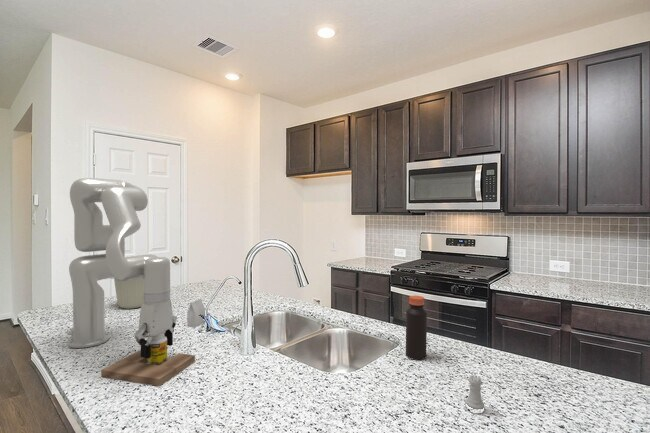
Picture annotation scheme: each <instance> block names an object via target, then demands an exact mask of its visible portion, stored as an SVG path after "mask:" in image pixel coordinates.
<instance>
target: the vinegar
mask: <svg viewBox="0 0 650 433" xmlns="http://www.w3.org/2000/svg"><path fill="white" fill-rule="evenodd" d="M408 304H409V308H408V309H407V310H406V312H405V320H406V321H405V357H407V356H408V357H410V358H413V359H412V360H414V359H423V358H425V357H426V358H427V343H428V342H427V340H428V339H427V337H428V332H427V330H428V329H427V328H428V313H427V311H426V310H425V308H424V307H425V297H424V296H421V295H417V294H415V295H409V297H408ZM408 357H407V358H408ZM410 358H409V359H410ZM426 358H425V359H426ZM423 360H424V359H423Z"/></svg>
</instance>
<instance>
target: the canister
mask: <svg viewBox="0 0 650 433" xmlns="http://www.w3.org/2000/svg"><path fill="white" fill-rule="evenodd" d="M113 281H114V288H115V297H116V302H117V305H118V307H120V308H121V309H127V310H128V309H129V310H132V309H137V308H141V306H142V304H143V303H144V280H143V279H137V280H132V281H126V282H120V281H117V280H116V279H115V278H113Z"/></svg>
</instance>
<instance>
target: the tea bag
mask: <svg viewBox="0 0 650 433" xmlns="http://www.w3.org/2000/svg"><path fill="white" fill-rule="evenodd" d="M202 300H203V299H202V298H200V299H196V300H195V301H191V302H190V303H189V304H190V305H189V308H188V310H187V320H186V321H187V323H186V324H187V327H189V328H197V327H199V326H200V325H202V324H204V323H205V322H204V320H203V318H202V317H201V316H199V315H200V314H201V315H205V316H206V307H205V305H204V303H203V301H202ZM203 322H204V323H203Z"/></svg>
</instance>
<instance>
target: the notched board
mask: <svg viewBox="0 0 650 433" xmlns="http://www.w3.org/2000/svg"><path fill="white" fill-rule="evenodd" d="M195 362H196V354H195V355H194V354H188V353H180V352H178V353H177V354H175V355H174V356H172V357H171V358H169V359H167V361H165V362H164V363H162V364H161V365H153V364H148V358H142V357H141V349H139V350H137V351H136V352H134V353H132V354H129V355H127V356H126V357H124V358H122V359H120V360H118V361H116V362H115V363H112V364H110V365H108V366H107V367H104V368H103V369H101V370H100V372H101V376H100V377H101V378H106V379H112V380H118V381H124V382H125V381H126V382H130V383H138V384H143V385H151V386H157V387H161V386H162V385H164V384H165V383H166V382H168V381H170V380H171V379H172V378H174V377H175V376H176V375H178V374H179V373H180V372H182V371H184V370H185V369H186V368H188V367H190V366H191V365H192V364H193V363H195Z"/></svg>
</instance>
